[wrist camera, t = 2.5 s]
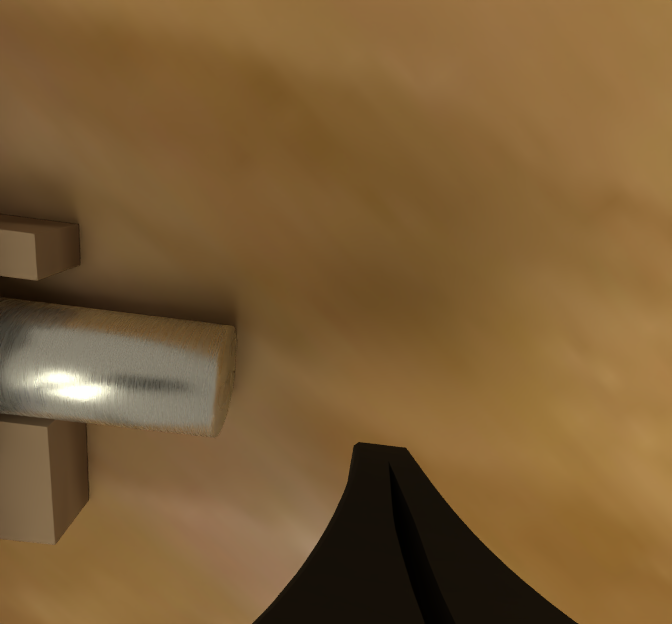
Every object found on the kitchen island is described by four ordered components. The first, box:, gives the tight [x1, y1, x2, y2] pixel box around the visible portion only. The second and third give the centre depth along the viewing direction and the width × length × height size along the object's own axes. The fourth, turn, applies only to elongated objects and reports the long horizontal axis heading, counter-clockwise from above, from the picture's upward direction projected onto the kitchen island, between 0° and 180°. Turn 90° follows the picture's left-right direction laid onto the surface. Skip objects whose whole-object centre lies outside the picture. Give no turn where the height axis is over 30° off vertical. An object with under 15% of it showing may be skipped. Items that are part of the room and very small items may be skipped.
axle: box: [0, 297, 237, 438], centre depth 16 cm, size 12×4×4 cm, turn 83°
